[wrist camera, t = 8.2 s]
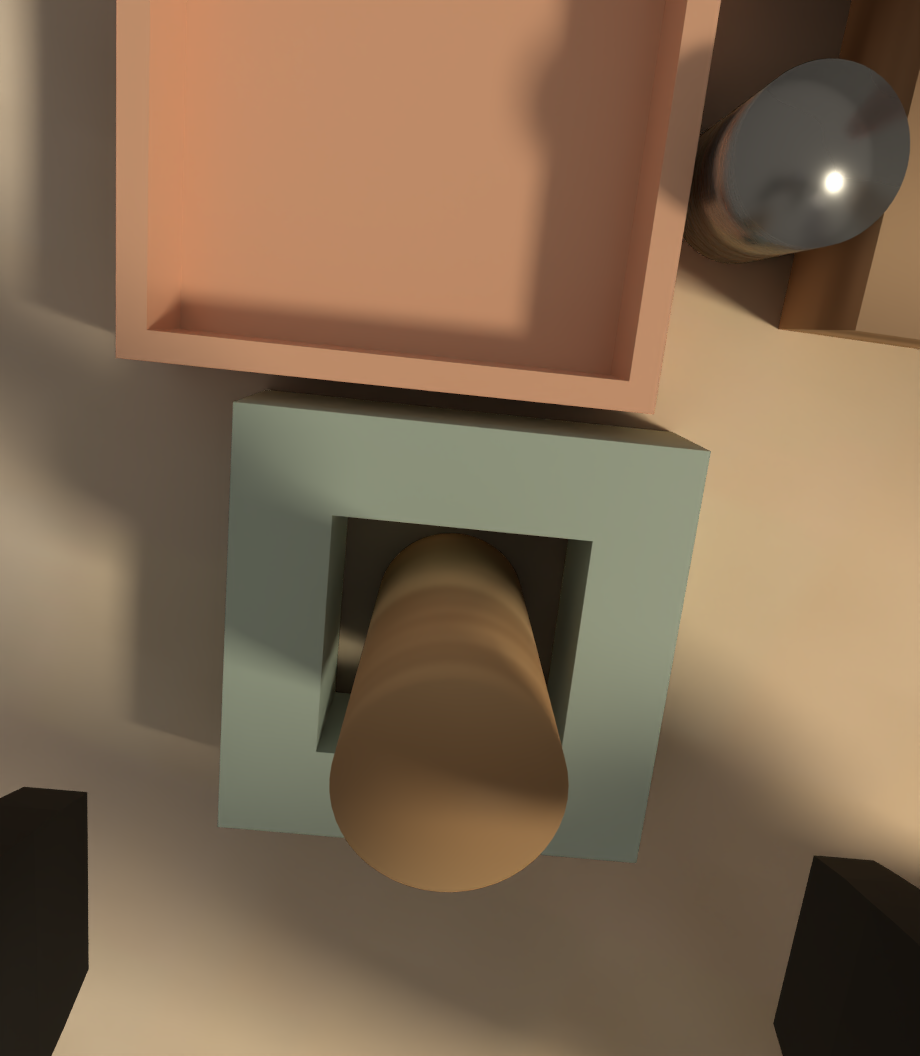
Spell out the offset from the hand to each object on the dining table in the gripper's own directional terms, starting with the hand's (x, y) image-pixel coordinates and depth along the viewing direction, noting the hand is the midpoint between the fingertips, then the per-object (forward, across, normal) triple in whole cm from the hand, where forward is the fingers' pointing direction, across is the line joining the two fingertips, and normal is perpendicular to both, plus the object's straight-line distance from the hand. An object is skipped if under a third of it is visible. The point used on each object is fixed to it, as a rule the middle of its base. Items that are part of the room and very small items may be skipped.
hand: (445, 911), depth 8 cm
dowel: (+9, 0, 0) cm, 9 cm away
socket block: (+9, 0, 0) cm, 9 cm away
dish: (+9, +2, -9) cm, 13 cm away
